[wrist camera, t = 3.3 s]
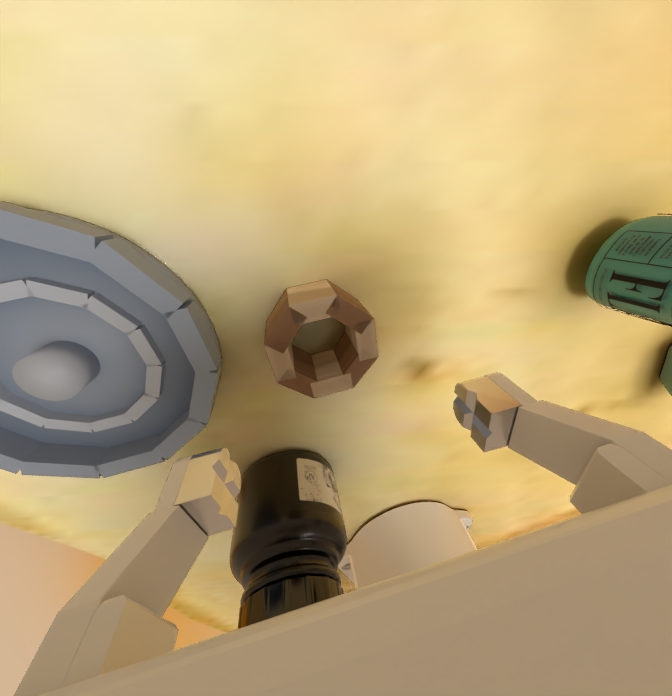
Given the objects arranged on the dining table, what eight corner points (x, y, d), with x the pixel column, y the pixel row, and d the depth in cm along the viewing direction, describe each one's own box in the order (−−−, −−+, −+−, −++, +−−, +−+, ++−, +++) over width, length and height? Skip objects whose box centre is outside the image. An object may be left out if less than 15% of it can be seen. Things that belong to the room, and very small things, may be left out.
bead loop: (365, 355, 20) (380, 380, 17) (284, 375, 20) (285, 405, 17) (354, 273, 17) (370, 286, 14) (257, 294, 16) (252, 314, 13)
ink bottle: (338, 496, 28) (374, 665, 18) (256, 519, 27) (243, 712, 17) (325, 433, 23) (363, 613, 13) (225, 458, 22) (178, 674, 12)
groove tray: (252, 414, 21) (249, 441, 18) (39, 470, 19) (4, 508, 17) (147, 178, 13) (116, 171, 10) (-227, 245, 11) (-364, 254, 9)
